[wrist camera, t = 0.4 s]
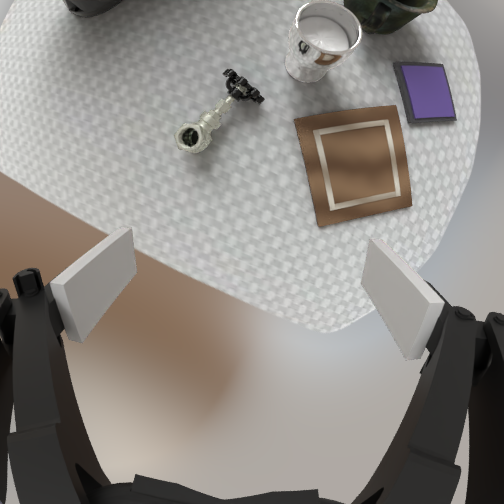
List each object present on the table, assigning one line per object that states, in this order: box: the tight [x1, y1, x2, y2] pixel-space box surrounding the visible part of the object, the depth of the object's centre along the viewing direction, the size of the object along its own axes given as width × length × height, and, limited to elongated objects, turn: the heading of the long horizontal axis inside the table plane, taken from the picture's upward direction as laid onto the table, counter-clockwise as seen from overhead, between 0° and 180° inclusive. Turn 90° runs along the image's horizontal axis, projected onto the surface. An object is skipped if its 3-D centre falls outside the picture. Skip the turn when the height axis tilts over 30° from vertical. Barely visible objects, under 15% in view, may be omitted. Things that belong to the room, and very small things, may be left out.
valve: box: [174, 69, 265, 153], centre depth 33 cm, size 7×7×12 cm
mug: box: [344, 0, 438, 34], centre depth 22 cm, size 11×15×12 cm
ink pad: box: [393, 62, 457, 123], centre depth 31 cm, size 10×10×2 cm
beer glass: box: [285, 0, 362, 83], centre depth 25 cm, size 7×7×15 cm
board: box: [294, 105, 412, 227], centre depth 37 cm, size 16×16×1 cm
